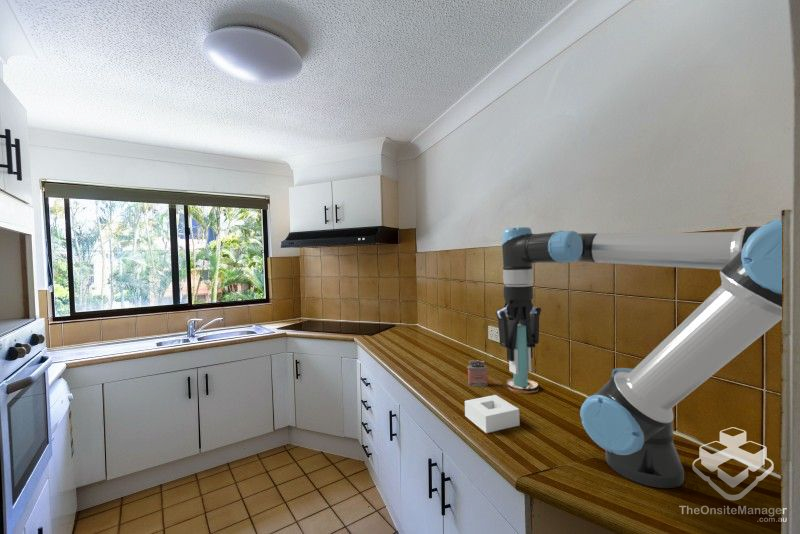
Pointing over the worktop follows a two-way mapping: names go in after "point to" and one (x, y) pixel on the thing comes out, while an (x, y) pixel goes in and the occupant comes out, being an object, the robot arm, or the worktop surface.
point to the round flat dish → (531, 387)
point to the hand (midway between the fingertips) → (520, 371)
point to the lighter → (477, 373)
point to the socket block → (492, 413)
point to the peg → (521, 357)
